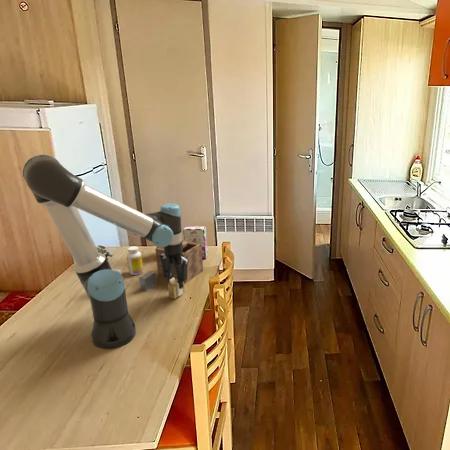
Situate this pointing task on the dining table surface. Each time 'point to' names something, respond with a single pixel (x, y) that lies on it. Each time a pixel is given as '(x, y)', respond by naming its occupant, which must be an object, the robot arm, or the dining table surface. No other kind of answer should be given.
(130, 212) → the robot arm
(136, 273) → the supplement bottle
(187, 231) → the candy bar box
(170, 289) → the block
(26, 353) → the dining table surface
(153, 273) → the grey rectangular block
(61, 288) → the dining table surface
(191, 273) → the wooden compartment box
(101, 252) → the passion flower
